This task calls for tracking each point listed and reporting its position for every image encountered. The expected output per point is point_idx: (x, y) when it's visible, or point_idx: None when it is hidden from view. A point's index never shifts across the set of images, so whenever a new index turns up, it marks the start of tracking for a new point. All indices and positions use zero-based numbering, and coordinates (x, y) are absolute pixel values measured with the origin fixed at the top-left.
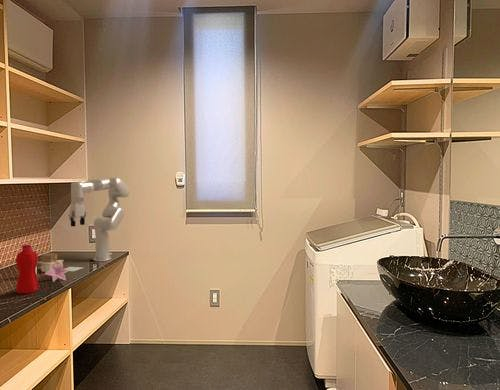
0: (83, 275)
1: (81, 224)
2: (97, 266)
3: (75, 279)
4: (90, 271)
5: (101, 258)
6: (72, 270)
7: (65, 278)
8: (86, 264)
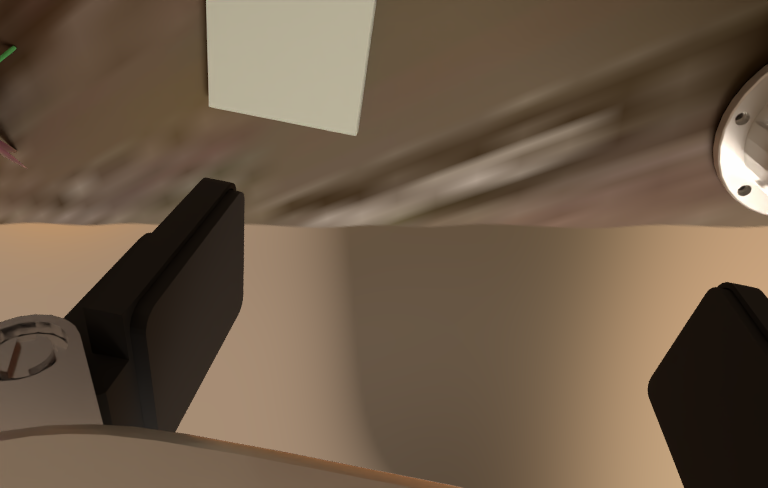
0: (164, 210)
1: (691, 326)
2: (468, 196)
3: (56, 204)
4: (285, 210)
5: (749, 154)
6: (233, 83)
7: (11, 150)
8: (570, 58)
